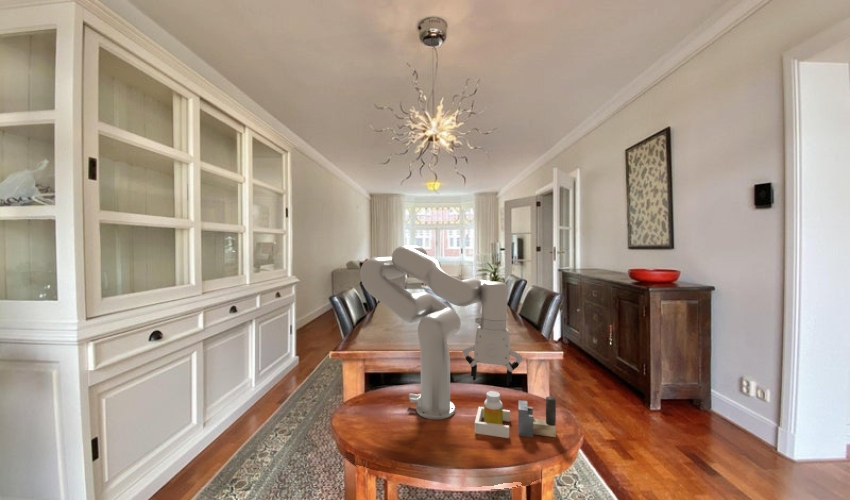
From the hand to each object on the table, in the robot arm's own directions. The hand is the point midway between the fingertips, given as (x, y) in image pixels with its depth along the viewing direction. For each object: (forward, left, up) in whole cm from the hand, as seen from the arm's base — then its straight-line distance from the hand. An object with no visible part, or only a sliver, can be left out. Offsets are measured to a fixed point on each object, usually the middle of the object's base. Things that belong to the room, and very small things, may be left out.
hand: (491, 380), depth 100 cm
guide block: (+10, 0, -13) cm, 17 cm away
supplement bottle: (+1, 0, -14) cm, 14 cm away
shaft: (+14, 0, -13) cm, 19 cm away
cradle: (+1, 0, -13) cm, 13 cm away
